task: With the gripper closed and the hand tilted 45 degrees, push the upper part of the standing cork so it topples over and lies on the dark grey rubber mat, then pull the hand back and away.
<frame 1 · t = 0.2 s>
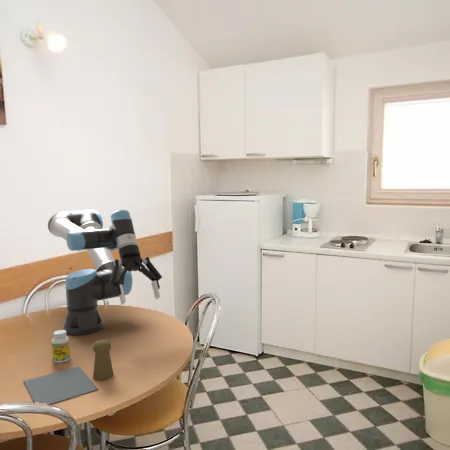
hand: (141, 300, 145), 16 cm above the table, tool tilted 35°, fingers open, 13 cm apart
cork: (103, 376, 122), on the table
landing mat: (60, 385, 116), on the table
supplement bottle: (61, 360, 134), on the table
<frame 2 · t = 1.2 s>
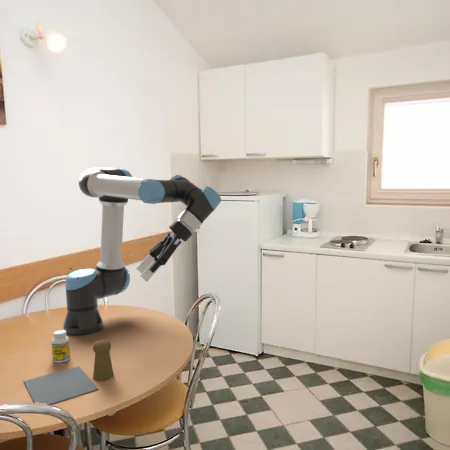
hand: (141, 274, 131), 28 cm above the table, tool tilted 45°, fingers open, 12 cm apart
nothing on the table moved.
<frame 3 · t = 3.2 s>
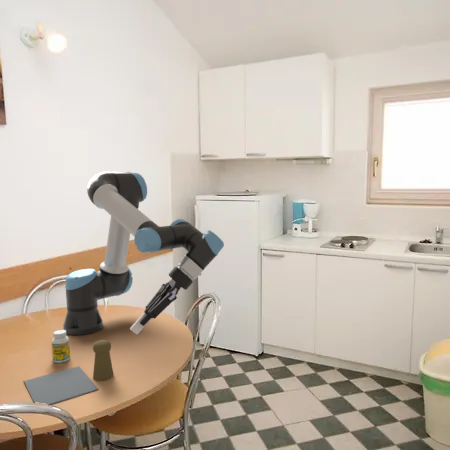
hand: (133, 331, 123), 13 cm above the table, tool tilted 45°, fingers closed
nothing on the table moved.
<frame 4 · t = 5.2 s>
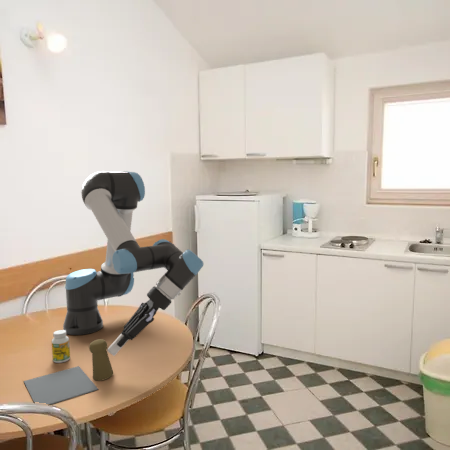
hand: (110, 352, 121), 7 cm above the table, tool tilted 45°, fingers closed
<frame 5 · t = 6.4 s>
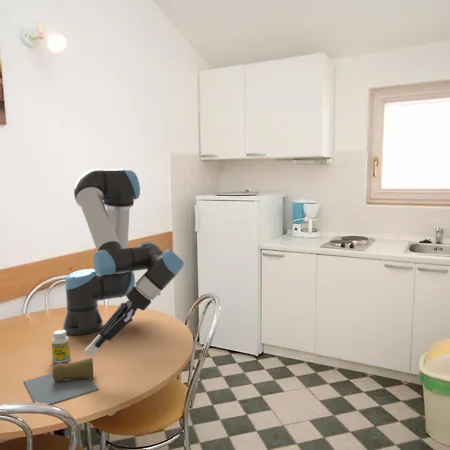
hand: (88, 353, 120), 8 cm above the table, tool tilted 45°, fingers closed
cork: (93, 368, 121), point 3 cm above the table, touching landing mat
everything else where it was.
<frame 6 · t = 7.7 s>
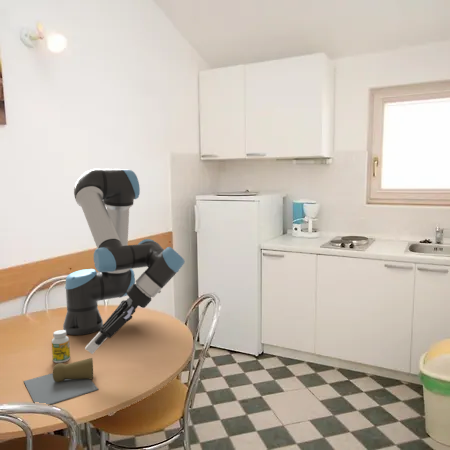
hand: (88, 350, 120), 9 cm above the table, tool tilted 45°, fingers closed
nothing on the table moved.
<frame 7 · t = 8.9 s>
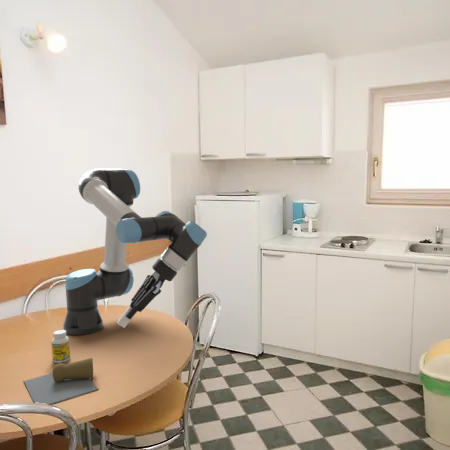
hand: (120, 324, 124), 15 cm above the table, tool tilted 40°, fingers closed
nothing on the table moved.
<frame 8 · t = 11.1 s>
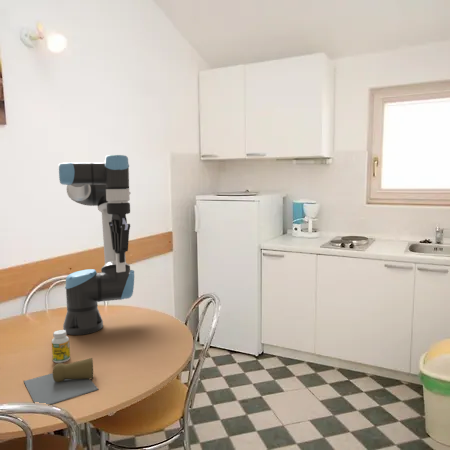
hand: (121, 271, 136), 28 cm above the table, tool pointing down, fingers closed
nothing on the table moved.
at the end: cork tilted 91°; cork inside the target area (7.4 cm from its centre), point 3.0 cm above the table; the gripper is holding nothing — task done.
